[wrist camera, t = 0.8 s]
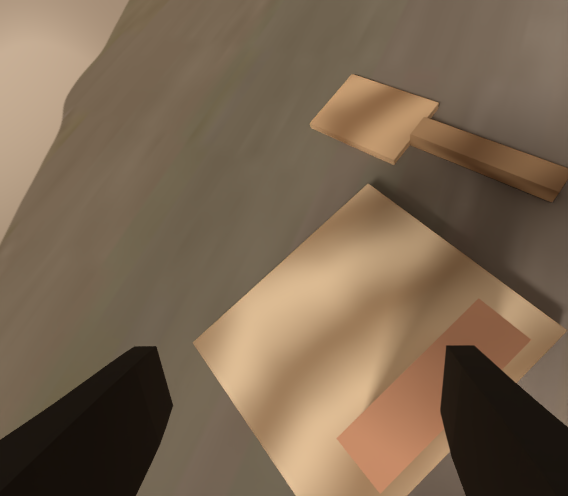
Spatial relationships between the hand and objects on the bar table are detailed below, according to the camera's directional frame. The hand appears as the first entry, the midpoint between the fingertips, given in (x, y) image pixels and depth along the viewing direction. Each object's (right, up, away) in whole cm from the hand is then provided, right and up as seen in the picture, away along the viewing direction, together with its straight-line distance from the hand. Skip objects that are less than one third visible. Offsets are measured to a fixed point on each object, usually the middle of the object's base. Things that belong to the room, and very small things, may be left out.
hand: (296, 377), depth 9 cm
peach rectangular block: (+7, -5, +10) cm, 13 cm away
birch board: (+4, -3, +14) cm, 14 cm away
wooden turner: (+10, +11, +18) cm, 24 cm away
